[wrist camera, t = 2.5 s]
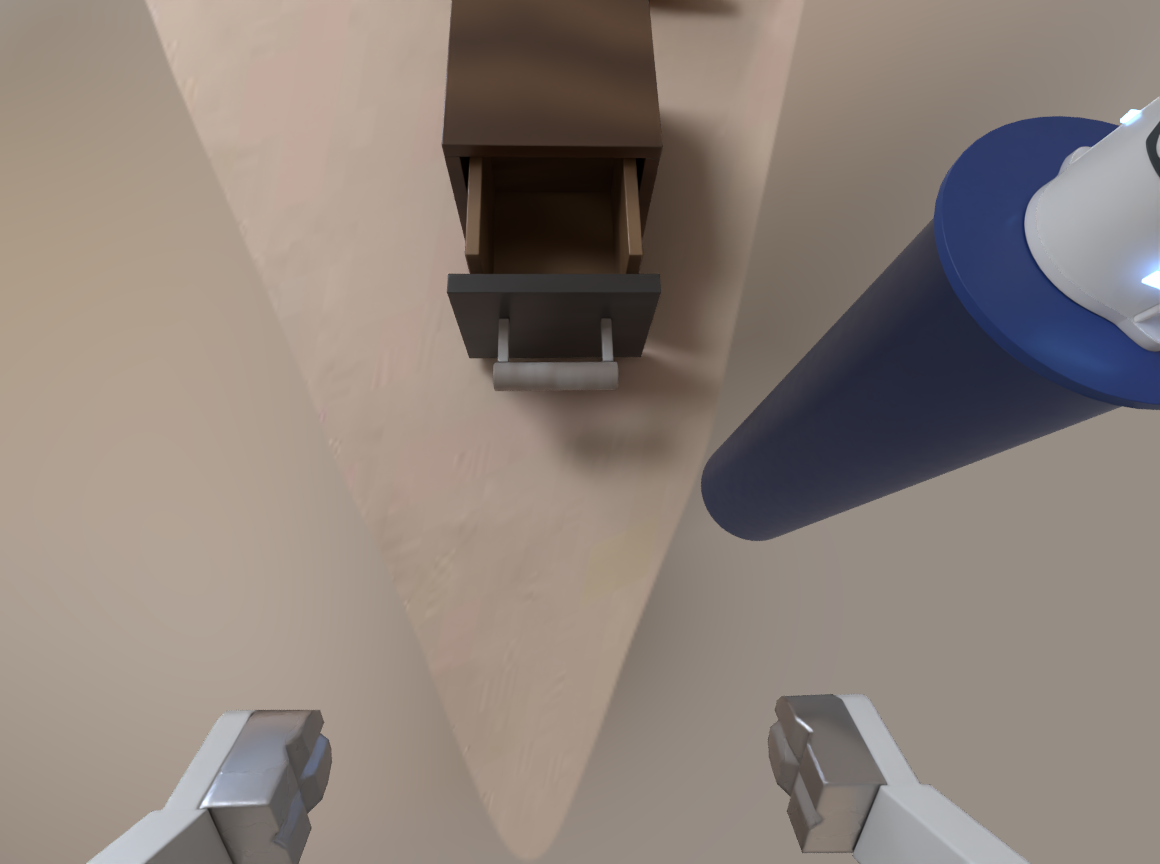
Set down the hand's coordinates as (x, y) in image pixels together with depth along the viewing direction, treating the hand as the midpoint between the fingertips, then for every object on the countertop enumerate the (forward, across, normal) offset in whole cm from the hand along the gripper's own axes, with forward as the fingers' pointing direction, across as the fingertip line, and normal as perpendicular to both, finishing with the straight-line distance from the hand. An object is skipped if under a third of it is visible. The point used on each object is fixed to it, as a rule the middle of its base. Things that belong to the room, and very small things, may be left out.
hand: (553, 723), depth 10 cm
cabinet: (+42, 0, -8) cm, 42 cm away
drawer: (+32, 0, -1) cm, 32 cm away
